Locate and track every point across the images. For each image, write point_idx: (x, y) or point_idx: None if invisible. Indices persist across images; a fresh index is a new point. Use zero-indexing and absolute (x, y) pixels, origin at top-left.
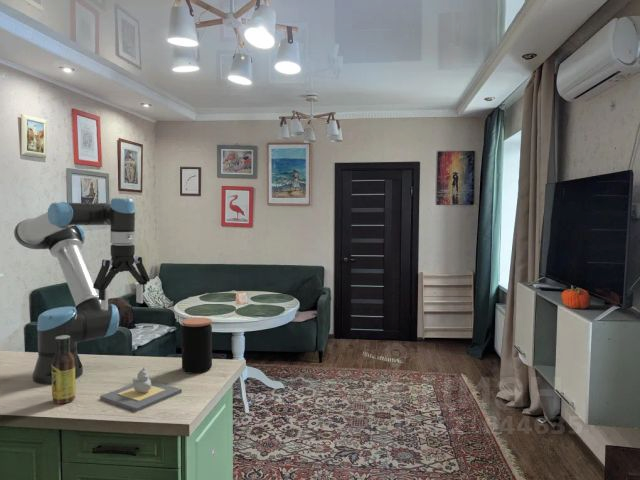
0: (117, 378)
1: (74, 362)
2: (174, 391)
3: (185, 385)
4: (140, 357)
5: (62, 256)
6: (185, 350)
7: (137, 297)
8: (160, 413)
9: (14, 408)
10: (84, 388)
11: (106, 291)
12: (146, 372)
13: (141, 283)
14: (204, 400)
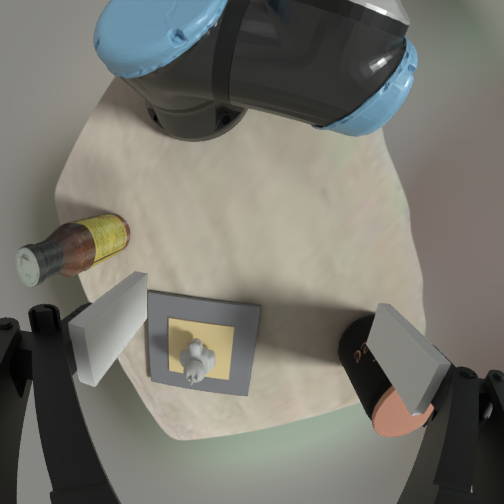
0: (249, 228)
1: (88, 263)
2: (233, 392)
3: (278, 379)
4: (387, 163)
5: None
6: (352, 366)
7: (388, 327)
8: (169, 406)
9: (65, 187)
10: (171, 212)
11: (87, 378)
12: (195, 382)
13: (436, 403)
14: (237, 430)
